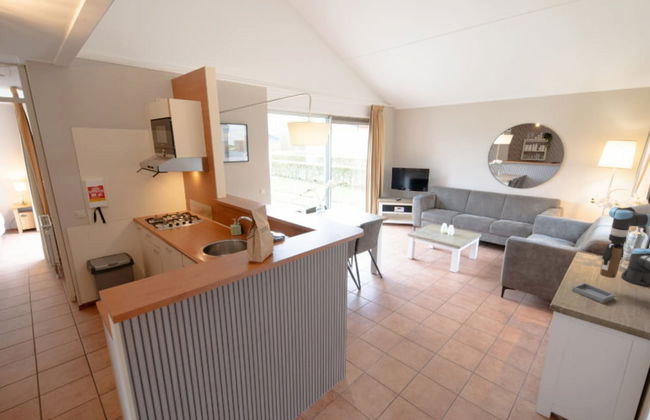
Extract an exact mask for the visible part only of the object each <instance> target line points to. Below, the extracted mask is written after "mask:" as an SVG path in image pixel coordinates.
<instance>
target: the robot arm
mask: <svg viewBox="0 0 650 420" xmlns="http://www.w3.org/2000/svg"><path fill="white" fill-rule="evenodd" d="M608 215H609V217H610V218H612V224H611V227H610V228H609V229H610V234H609V237H608V241H610V243H608V244H607V246H606V249H605V251H604V253H603V256H602V258H601V259H602V262H603V265H602V264H601V266H602V269H604V270H608V267H609V263H610V258H611V256H612V253H611V252H612V250H613V248H619V247H621V246H622V247H623V250H622V256H621V258H623V257H624V256H623V255H624V250H625V249H624V247H625V243H626V240H627V236H629V235H628V234H629V231H630V227H643V228H644V227H650V202H649V203H645V204H638V205H635V206H633V205H632V206H627V207H619V206H613V207H612V208H611V209H610V210H609V212H608ZM603 259H604V261H603ZM620 278H621V280H623V281H626V282H627V283H630V284H633V285H637V286H640V287H641V286H643V287H650V248H643V247H636V248H633V249H632V251H631V253H630V258H629V261H628V264H627V267H626V268H625V269H624V271H623V272H622V273H621V276H620Z"/></svg>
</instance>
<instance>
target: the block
mask: <svg viewBox="0 0 650 420" xmlns="http://www.w3.org/2000/svg"><path fill="white" fill-rule="evenodd" d="M622 250H623V247H622V246H621V247H619V248H613V250H612V252H611V253H612V256H611V258H610V263H609V267H608V270H604V269H602V265H603V261H604V259H602V261H601V266H600V271H599V274H600V275H601V276H602V277H605V278H608V279H609V278H610V279H613V278H614V279H615V278H616V277H617V274H618V271H619V268H620V263H621V260H622V257H621V256H622ZM623 251H624V250H623Z"/></svg>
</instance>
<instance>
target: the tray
mask: <svg viewBox="0 0 650 420" xmlns="http://www.w3.org/2000/svg"><path fill="white" fill-rule="evenodd" d="M571 291H572V292H573V293H576V294H578V295H581V296H583V297H586V298H588V299H589V300H592V301H595V302H596V303H600V304H604V303H607V302H610V301H612V300H614V299H615V298H614V297H615V294H614V293H612V292H609V291H606V290H604V289H601V288H599V287H596V286H594V285H591V284H588V283H586V282H582V283H580V284H577V285H574V286H572V290H571Z"/></svg>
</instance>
